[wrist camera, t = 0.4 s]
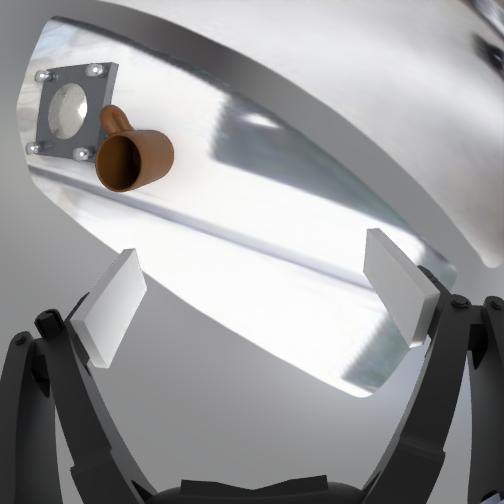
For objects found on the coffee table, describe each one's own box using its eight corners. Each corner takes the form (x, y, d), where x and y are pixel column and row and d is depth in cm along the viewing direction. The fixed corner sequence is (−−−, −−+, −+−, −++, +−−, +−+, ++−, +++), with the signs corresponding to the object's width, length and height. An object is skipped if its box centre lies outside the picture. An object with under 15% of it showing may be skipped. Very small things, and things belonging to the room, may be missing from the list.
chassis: (53, 70, 34) (34, 68, 30) (118, 64, 34) (100, 59, 29) (42, 152, 41) (23, 156, 36) (102, 161, 40) (83, 165, 36)
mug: (115, 119, 37) (76, 120, 29) (155, 95, 35) (120, 88, 27) (142, 187, 41) (107, 203, 32) (183, 168, 39) (154, 179, 31)
